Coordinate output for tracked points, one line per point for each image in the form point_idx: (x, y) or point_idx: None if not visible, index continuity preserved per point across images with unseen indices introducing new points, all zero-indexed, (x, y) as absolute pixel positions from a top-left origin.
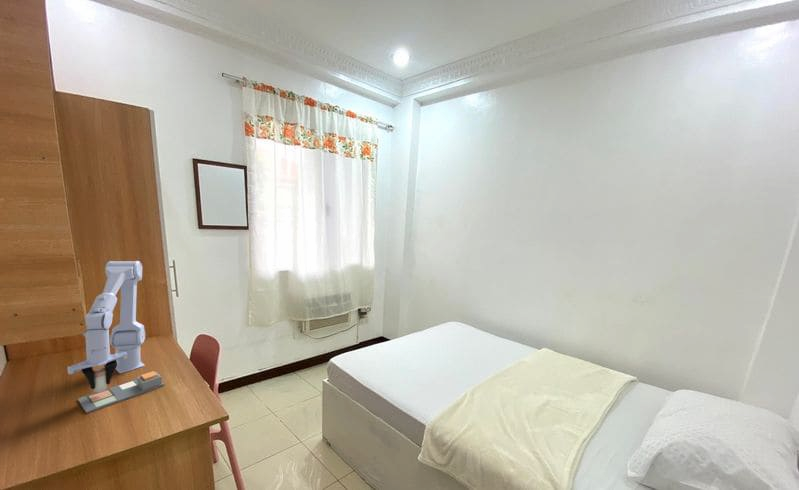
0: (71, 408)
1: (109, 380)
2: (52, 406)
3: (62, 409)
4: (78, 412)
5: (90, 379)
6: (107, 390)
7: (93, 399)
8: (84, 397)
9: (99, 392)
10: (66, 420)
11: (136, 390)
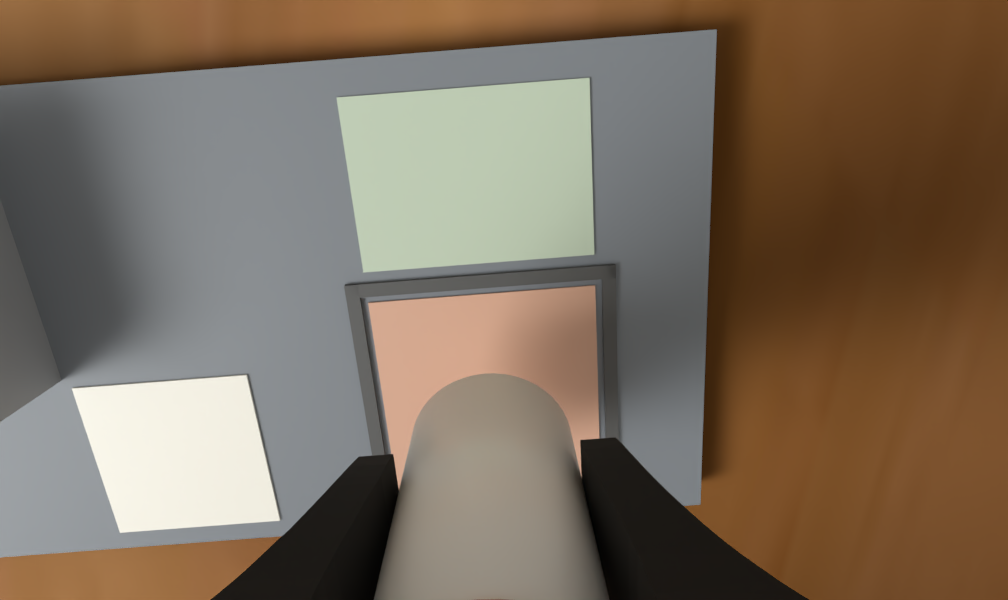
0: (781, 348)
1: (339, 488)
2: (890, 532)
3: (849, 394)
4: (756, 176)
5: (724, 573)
6: None
7: (577, 349)
8: None
9: None
10: (907, 53)
11: (69, 208)
